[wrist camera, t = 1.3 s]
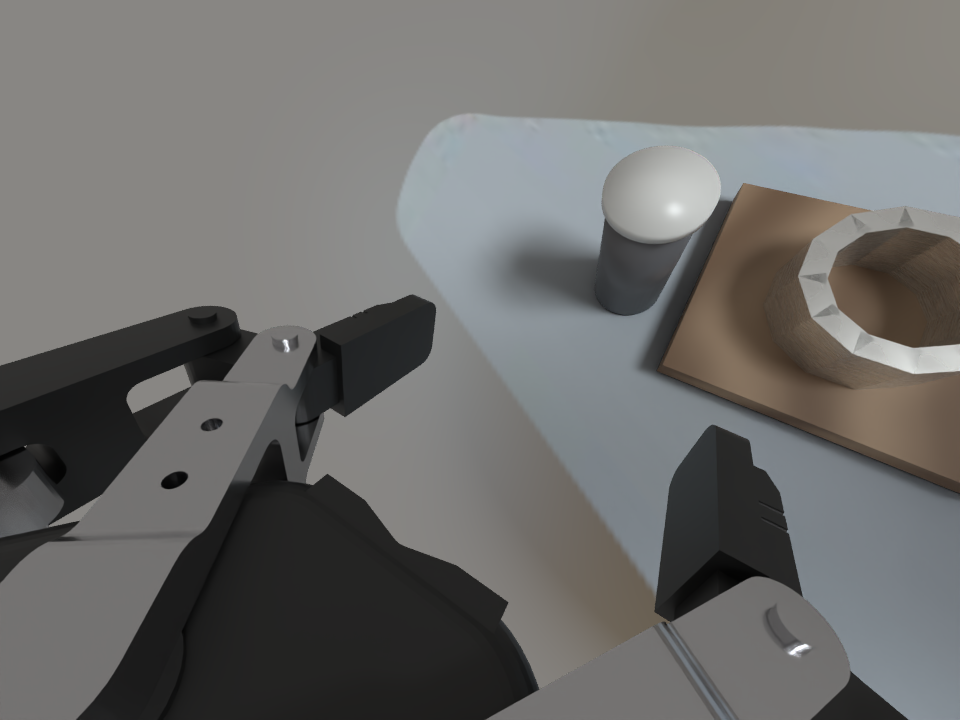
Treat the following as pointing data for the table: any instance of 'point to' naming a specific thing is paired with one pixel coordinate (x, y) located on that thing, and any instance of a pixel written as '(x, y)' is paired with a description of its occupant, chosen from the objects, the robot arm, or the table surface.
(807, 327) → the faceted white ring
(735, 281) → the mount board
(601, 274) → the white capped grey cylinder
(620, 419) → the table surface
